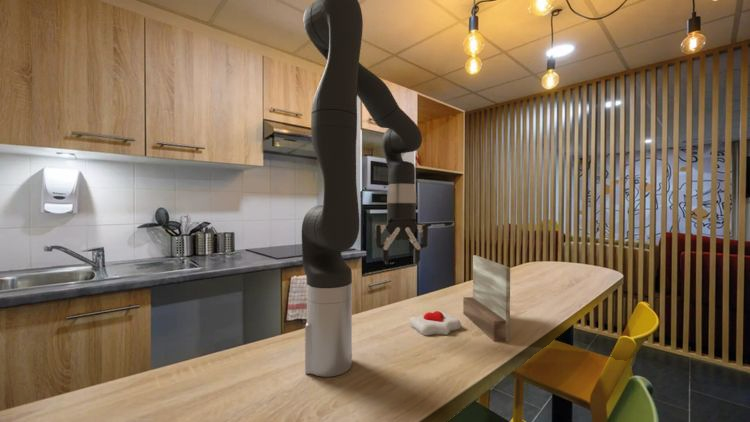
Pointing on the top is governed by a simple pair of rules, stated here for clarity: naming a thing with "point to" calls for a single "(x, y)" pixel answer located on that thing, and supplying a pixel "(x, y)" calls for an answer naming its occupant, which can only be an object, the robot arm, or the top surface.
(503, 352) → the top surface
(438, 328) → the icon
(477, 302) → the display ledge
